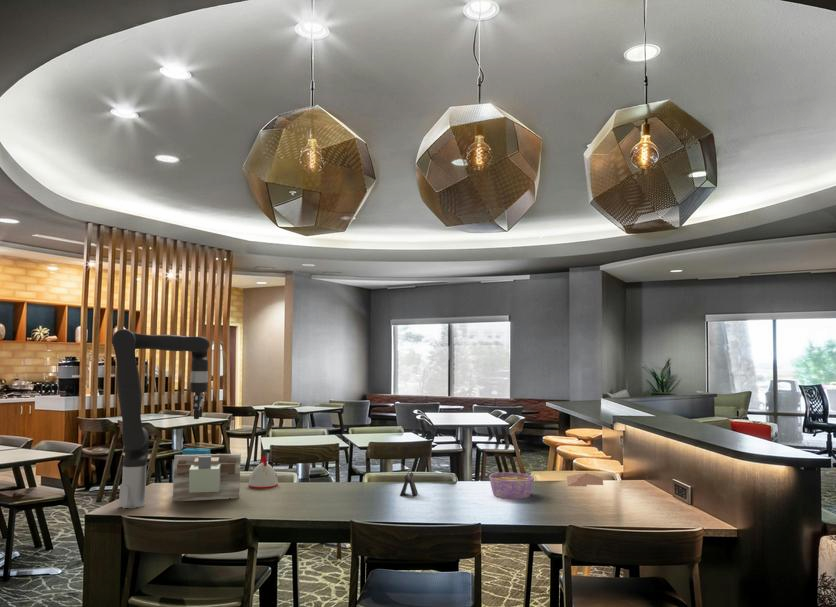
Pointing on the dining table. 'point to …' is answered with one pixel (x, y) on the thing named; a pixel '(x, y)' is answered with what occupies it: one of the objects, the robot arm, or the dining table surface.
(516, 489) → the bowl of food
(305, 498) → the dining table surface
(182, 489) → the grey brown rectangular box
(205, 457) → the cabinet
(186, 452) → the block
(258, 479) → the kitchen timer
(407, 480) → the dark grey angled piece
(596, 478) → the house
